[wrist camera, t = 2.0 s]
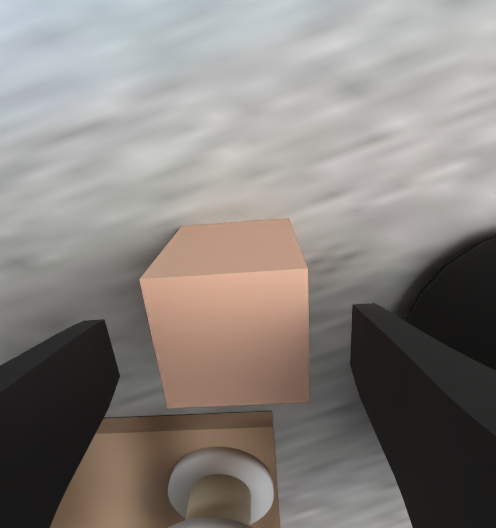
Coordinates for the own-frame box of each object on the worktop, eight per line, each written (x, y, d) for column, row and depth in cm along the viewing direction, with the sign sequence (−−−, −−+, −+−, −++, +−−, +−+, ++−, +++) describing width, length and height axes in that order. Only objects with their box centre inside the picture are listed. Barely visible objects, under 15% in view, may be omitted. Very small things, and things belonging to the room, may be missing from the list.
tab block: (288, 217, 14) (307, 268, 9) (292, 313, 16) (309, 402, 10) (181, 226, 14) (139, 279, 9) (196, 318, 16) (167, 408, 11)
